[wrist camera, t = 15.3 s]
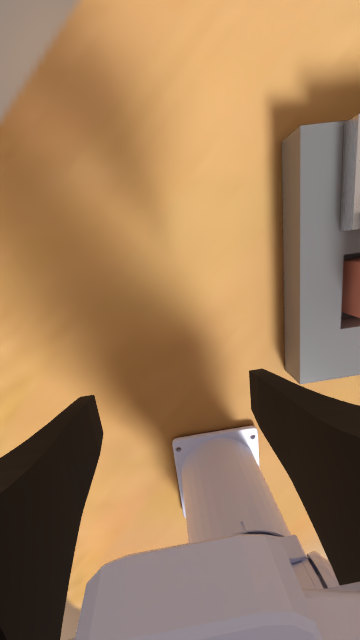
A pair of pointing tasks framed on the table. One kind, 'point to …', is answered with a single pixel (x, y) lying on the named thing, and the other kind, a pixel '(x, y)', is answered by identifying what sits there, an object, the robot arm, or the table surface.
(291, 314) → the socket plate
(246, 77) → the table surface
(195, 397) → the table surface
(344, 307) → the plug
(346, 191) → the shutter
